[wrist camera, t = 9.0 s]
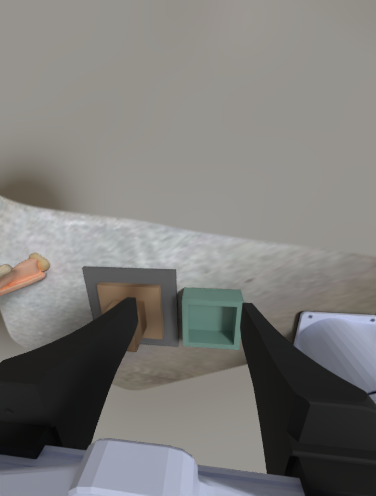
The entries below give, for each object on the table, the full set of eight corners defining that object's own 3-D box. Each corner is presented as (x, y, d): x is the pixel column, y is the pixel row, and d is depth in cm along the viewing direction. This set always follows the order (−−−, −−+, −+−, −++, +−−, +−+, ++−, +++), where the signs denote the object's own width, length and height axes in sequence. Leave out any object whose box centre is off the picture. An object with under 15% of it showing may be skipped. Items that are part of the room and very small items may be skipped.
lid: (160, 284, 24) (149, 308, 19) (163, 334, 27) (154, 366, 22) (99, 282, 25) (75, 304, 20) (109, 331, 27) (89, 360, 23)
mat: (176, 269, 23) (175, 271, 23) (178, 344, 27) (178, 346, 27) (84, 266, 25) (82, 267, 24) (99, 338, 29) (98, 341, 28)
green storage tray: (240, 289, 24) (244, 302, 21) (236, 334, 26) (239, 349, 24) (184, 287, 24) (181, 299, 22) (185, 331, 27) (183, 345, 24)
